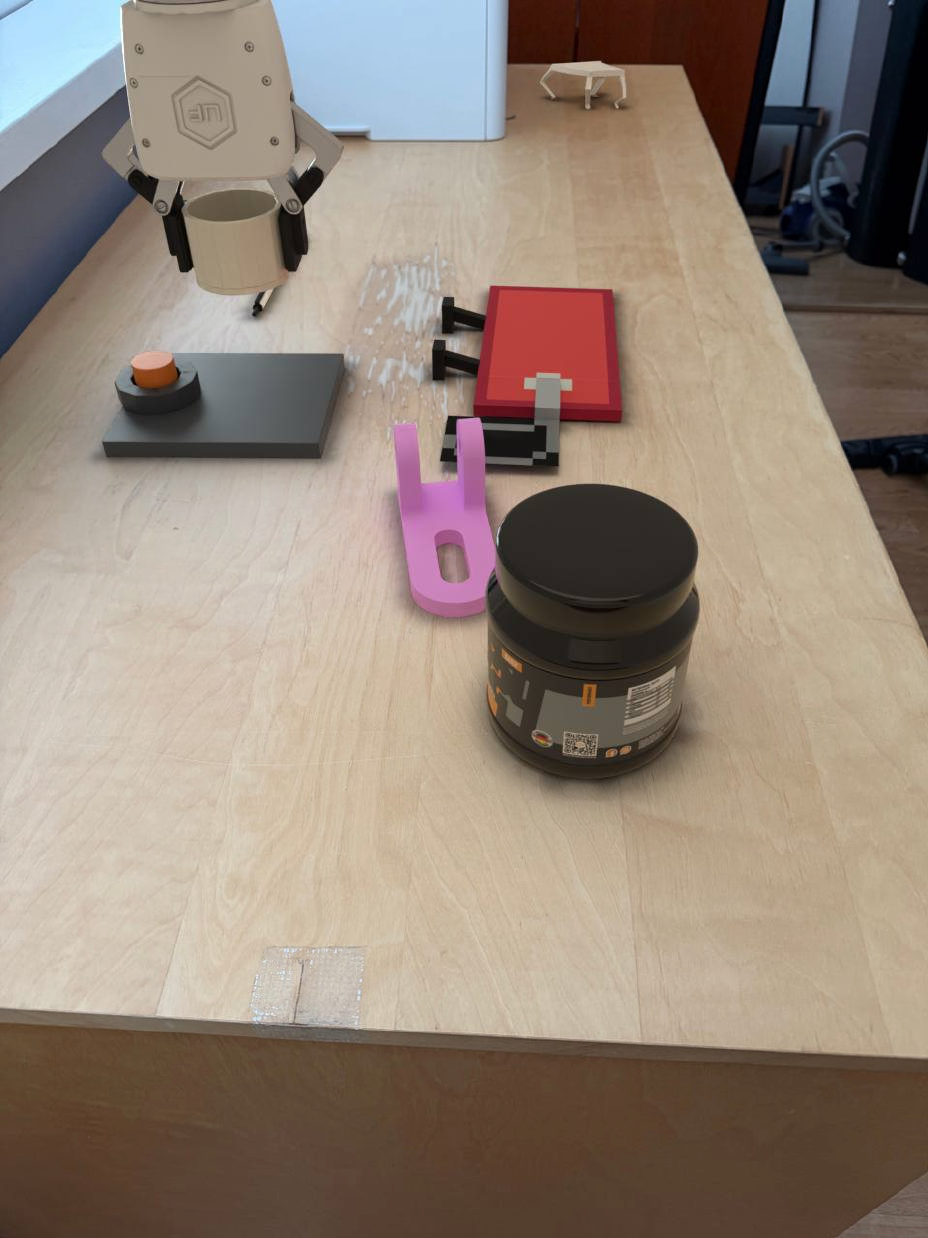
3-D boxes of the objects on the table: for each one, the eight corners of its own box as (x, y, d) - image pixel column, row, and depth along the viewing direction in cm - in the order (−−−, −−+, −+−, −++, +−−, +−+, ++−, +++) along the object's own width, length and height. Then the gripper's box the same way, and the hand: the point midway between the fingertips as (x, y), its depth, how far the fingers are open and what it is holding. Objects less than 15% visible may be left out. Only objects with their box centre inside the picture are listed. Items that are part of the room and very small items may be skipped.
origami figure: (625, 96, 146) (628, 57, 143) (625, 113, 140) (628, 73, 137) (540, 94, 147) (541, 56, 144) (536, 112, 141) (537, 72, 138)
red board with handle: (413, 471, 74) (624, 480, 74) (412, 437, 73) (628, 445, 72) (449, 298, 97) (611, 303, 96) (449, 269, 95) (613, 274, 94)
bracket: (398, 502, 72) (392, 413, 68) (478, 495, 73) (476, 406, 68) (415, 624, 62) (409, 531, 58) (507, 615, 63) (508, 522, 58)
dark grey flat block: (99, 460, 77) (88, 422, 75) (150, 369, 88) (141, 334, 85) (321, 461, 76) (316, 423, 74) (345, 370, 87) (341, 334, 85)
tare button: (130, 390, 79) (125, 369, 78) (142, 370, 82) (137, 349, 80) (172, 390, 79) (167, 369, 78) (182, 370, 81) (178, 349, 80)
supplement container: (522, 631, 62) (526, 459, 54) (698, 674, 59) (729, 498, 51) (456, 756, 55) (450, 579, 47) (653, 813, 52) (683, 633, 44)
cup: (185, 295, 72) (170, 223, 69) (208, 256, 77) (194, 187, 74) (282, 295, 72) (272, 222, 68) (298, 256, 77) (289, 186, 74)
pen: (250, 318, 94) (248, 307, 94) (294, 238, 109) (292, 227, 108) (259, 319, 94) (257, 307, 93) (302, 238, 108) (301, 227, 108)
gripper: (28, -11, 60) (106, 287, 72) (328, -17, 59) (357, 286, 71) (71, -35, 65) (137, 245, 77) (345, -41, 65) (369, 243, 76)
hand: (241, 262), depth 74 cm, fingers closed on cup, 6 cm apart
